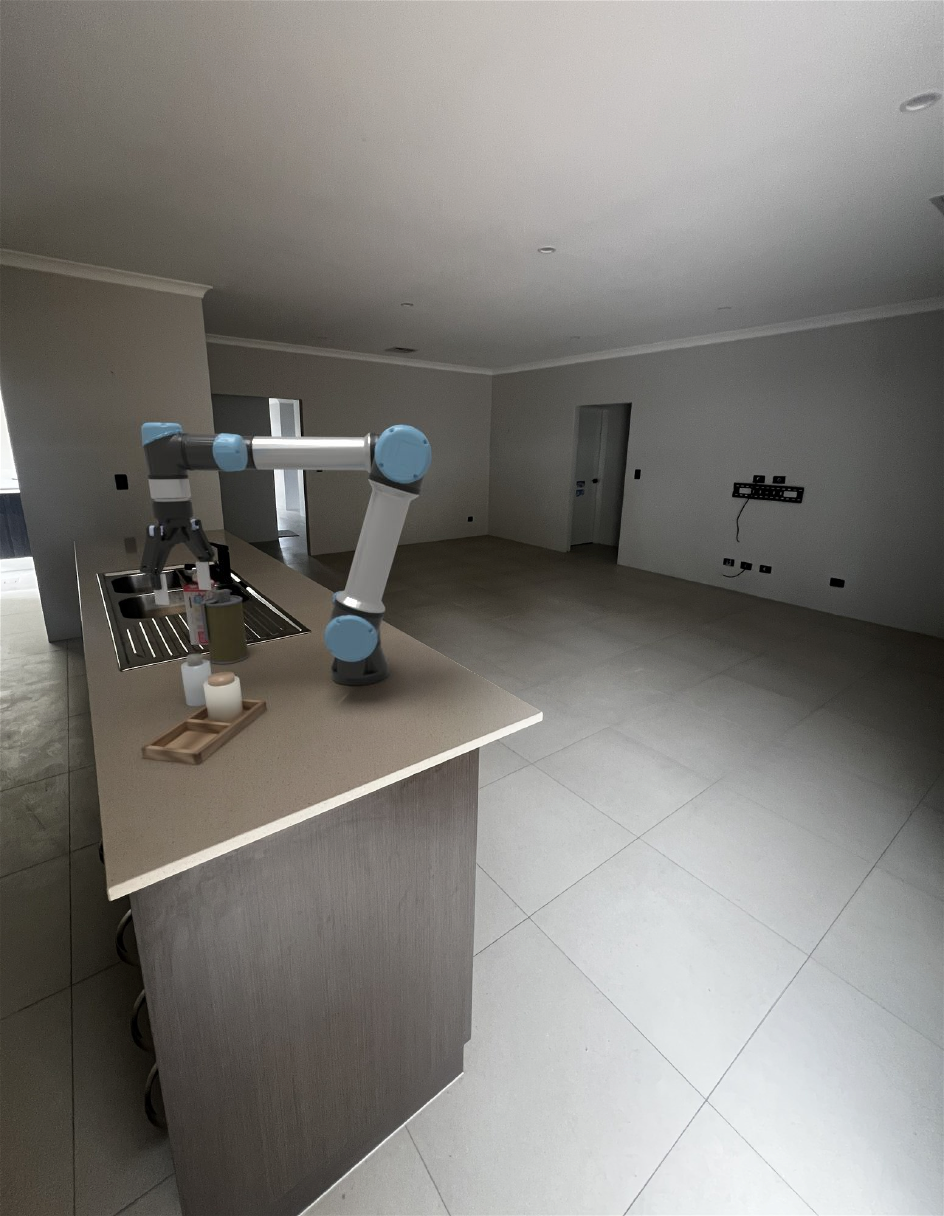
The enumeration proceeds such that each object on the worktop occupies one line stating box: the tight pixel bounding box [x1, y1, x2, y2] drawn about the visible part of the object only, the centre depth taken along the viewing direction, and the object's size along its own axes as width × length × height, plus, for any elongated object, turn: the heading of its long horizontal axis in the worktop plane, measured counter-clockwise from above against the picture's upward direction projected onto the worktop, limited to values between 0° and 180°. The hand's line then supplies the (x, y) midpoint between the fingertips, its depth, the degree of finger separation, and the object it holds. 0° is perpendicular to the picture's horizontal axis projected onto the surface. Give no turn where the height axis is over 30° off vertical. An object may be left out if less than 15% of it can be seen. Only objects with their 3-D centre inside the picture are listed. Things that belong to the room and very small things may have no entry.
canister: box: [200, 588, 250, 665], centre depth 153 cm, size 11×10×20 cm
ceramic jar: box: [203, 671, 244, 723], centre depth 116 cm, size 7×7×10 cm
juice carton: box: [182, 572, 216, 646], centre depth 167 cm, size 7×7×22 cm
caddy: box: [140, 698, 268, 766], centre depth 112 cm, size 12×23×3 cm, turn 169°
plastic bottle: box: [180, 652, 212, 707], centre depth 125 cm, size 6×6×12 cm
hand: (185, 596), depth 120 cm, fingers open, 13 cm apart
